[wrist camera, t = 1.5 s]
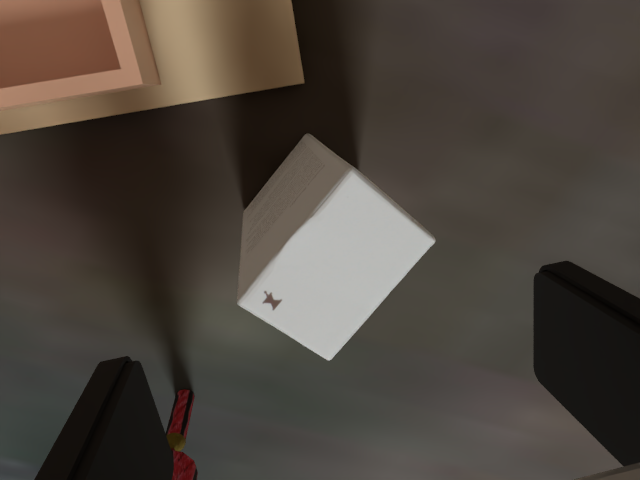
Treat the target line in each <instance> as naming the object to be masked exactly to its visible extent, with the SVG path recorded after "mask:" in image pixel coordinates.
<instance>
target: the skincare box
mask: <svg viewBox="0 0 640 480" xmlns="http://www.w3.org/2000/svg"><path fill="white" fill-rule="evenodd" d="M434 243H435V238H434V236H433V235H432V234H431V233H430V232H428V231H427V230H426V229H425V228H424V227H423V226H422V225H421V224H419V223H418V222H417V221H416V220H415V219H414V218H413V217H412V216H411V215H409V214H408V213H407V212H406V211H405V210H404V209H403V208H401V207H400V206H399V205H398V204H397V203H396V202H395V201H393V200H392V199H391V198H390V197H389V196H388V195H387V194H385V193H384V192H383V191H382V190H381V189H380V188H379V187H377V186H376V185H375V184H374V183H373V182H371V181H370V180H369V179H368V178H367V177H365V176H364V175H363V174H362V173H361V172H359V171H358V170H357V169H356V168H355V167H353V166H352V165H350V164H349V163H347V162H346V161H345V160H343V159H342V158H340V157H339V156H338V155H336V154H335V153H334V152H332V151H331V150H330V149H329V148H327V147H326V146H325V145H323V144H322V143H321V142H320V141H318V140H317V139H316V138H315V137H313V136H312V135H311V134H309V133H307V134H305V135H304V136H303V138H302V139H301V140H300V141H299V143H298V144H297V145H296V146H295V148H294V149H293V150H292V151H291V153H290V154H289V155H288V156H287V158H286V159H285V160H284V161H283V163H282V164H281V165H280V166H279V168H278V169H277V170H276V171H275V173H274V174H273V175H272V176H271V178H270V179H269V180H268V181H267V183H266V184H265V185H264V187H263V188H262V189H261V190H260V192H259V193H258V194H257V195H256V197H255V198H254V199H253V200H252V202H251V203H250V204H249V206H248V207H247V208H246V209H245V210H244V212H243V225H242V241H241V254H240V268H239V279H238V295H237V303H238V305H239V306H241V307H242V308H244V309H246V310H247V311H249V312H251V313H252V314H254V315H256V316H257V317H259V318H260V319H262V320H264V321H265V322H267V323H269V324H270V325H272V326H274V327H275V328H277V329H278V330H280V331H282V332H283V333H285V334H286V335H288V336H290V337H291V338H293V339H295V340H296V341H298V342H299V343H301V344H302V345H304V346H305V347H307V348H309V349H310V350H312V351H313V352H315V353H317V354H318V355H320V356H322V357H323V358H325V359H326V360H331V359H332V358H333V357H334V356H335V355H336V353H337V352H338V351H339V350H340V349H341V348H342V347H343V346H344V344H345V343H346V342H347V341H348V340H349V339H350V338H351V337H352V335H353V334H354V333H355V332H356V331H357V330H358V329H359V328H360V326H361V325H362V324H363V323H364V322H365V321H366V320H367V318H368V317H369V316H370V315H371V314H372V313H373V312H374V310H375V309H376V308H377V307H378V306H379V305H380V304H381V302H382V301H383V300H384V299H385V298H386V297H387V295H388V294H389V293H390V292H391V291H392V290H393V288H394V287H395V286H396V285H397V284H398V283H399V282H400V281H401V279H402V278H403V277H404V276H405V275H406V274H407V273H408V271H409V270H410V269H411V268H412V267H413V266H414V265H415V263H416V262H417V261H418V260H419V259H420V258H421V257H422V256H423V255H424V253H425V252H426V251H427V250H428V249H429V248H430V247H431V246H432V245H433V244H434Z"/></svg>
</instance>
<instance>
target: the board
mask: <svg viewBox="0 0 640 480" xmlns="http://www.w3.org/2000/svg"><path fill="white" fill-rule="evenodd" d="M139 1H140V5H141V9H142V12H143V16H144V20H145V24H146V27H147V31H148V35H149V39H150V43H151V46H152V50H153V54H154V58H155V61H156V65H157V69H158V73H159V77H160V80H161V84H162V85H156V86H150V87H144V88H138V89H132V90H125V91H119V92H113V93H107V94H101V95H95V96H89V97H83V98H77V99H71V100H65V101H59V102H53V103H47V104H41V105H35V106H29V107H23V108H17V109H11V110H5V111H0V135H1V134H7V133H13V132H19V131H25V130H30V129H36V128H42V127H48V126H54V125H60V124H66V123H72V122H78V121H83V120H89V119H95V118H101V117H107V116H113V115H119V114H125V113H131V112H137V111H142V110H148V109H154V108H160V107H166V106H172V105H178V104H184V103H190V102H196V101H201V100H207V99H213V98H219V97H225V96H231V95H237V94H243V93H249V92H254V91H260V90H266V89H272V88H278V87H284V86H290V85H296V84H302V83H305V82H304V76H303V70H302V64H301V57H300V51H299V45H298V39H297V33H296V26H295V20H294V14H293V8H292V2H291V0H139Z"/></svg>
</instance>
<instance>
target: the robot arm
mask: <svg viewBox="0 0 640 480" xmlns="http://www.w3.org/2000/svg"><path fill="white" fill-rule="evenodd" d="M534 372H535V375H536V377H537V379H538V381H539V382H540V383H541V384H542V385H543V386H544V387H545V388H546V389H547V390H548V391H549V392H550V393H551V394H552V395H553V396H554V397H555V398H556V399H557V400H558V401H559V402H560V403H561V404H562V405H563V406H564V407H565V408H566V409H567V410H568V411H569V412H570V413H571V414H572V415H573V416H574V417H575V418H576V419H577V420H578V421H579V422H580V423H581V424H582V425H583V426H584V427H585V428H586V429H587V430H588V431H589V432H590V433H591V434H592V435H593V436H594V437H595V438H596V439H597V440H598V441H599V442H600V443H601V444H602V445H603V446H604V447H605V448H606V449H607V450H608V451H609V452H610V453H611V454H612V455H613V456H614V457H615V458H616V459H617V460H618V461H619V462H620V463H621V464H622V465H623V466H624V467H621V468H617V469H613V470H609V471H605V472H601V473H597V474H593V475H590V476H586V477H582V478H578V479H574V480H640V299H639V298H638V297H636V296H634V295H632V294H630V293H628V292H626V291H624V290H622V289H621V288H619V287H617V286H615V285H613V284H611V283H609V282H607V281H606V280H604V279H602V278H600V277H598V276H596V275H594V274H592V273H590V272H589V271H587V270H585V269H583V268H581V267H579V266H577V265H575V264H573V263H572V262H569V261H563V262H558V263H553V264H549V265H544V266H542V267H541V268H540V270H539V273H537V274H536V275H535V276H534ZM173 471H174V460H173V455H172V451H171V448H170V446H169V443H168V440H167V437H166V434H165V431H164V428H163V425H162V423H161V420H160V417H159V414H158V411H157V408H156V405H155V402H154V399H153V397H152V394H151V391H150V388H149V385H148V382H147V379H146V376H145V374H144V371H143V368H142V365H141V363H140V362H139V361H133V362H132V360H131V359H130V357H128V356H125V357H121V358H116V359H112V360H107V361H103V362H100V363H99V364H98V366H97V367H96V369H95V371H94V373H93V375H92V377H91V378H90V380H89V382H88V384H87V386H86V387H85V389H84V391H83V393H82V395H81V396H80V398H79V400H78V402H77V404H76V405H75V407H74V409H73V411H72V413H71V415H70V416H69V418H68V420H67V422H66V424H65V425H64V427H63V429H62V431H61V433H60V434H59V436H58V438H57V440H56V442H55V443H54V445H53V447H52V449H51V451H50V452H49V454H48V456H47V458H46V460H45V462H44V463H43V465H42V467H41V469H40V471H39V472H38V474H37V476H36V478H35V480H172V477H173Z"/></svg>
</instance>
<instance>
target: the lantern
mask: <svg viewBox="0 0 640 480" xmlns="http://www.w3.org/2000/svg"><path fill="white" fill-rule="evenodd" d="M193 401H194V394H193V392H191V391H190V390H187V389H183V390H180V391H179V392H177V394H176V397H175V401H174V404H173V408H172V412H171V416H170V419H169V423H168V427H167V431H166V437H167V440H168V443H169V446H170V448H171V451H172V455H173V460H174V471H173V477H172V480H197V474H198V472H197V469H196V466H195V462H194V461H193V460H192V459H191V458H190V457H188V456H187V455H186V454H184V453H183V452H179V451H181V450H182V449H183V448H184V445H185V443H186V435H187V430H188V425H189V421H190V416H191V411H192V406H193Z"/></svg>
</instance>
